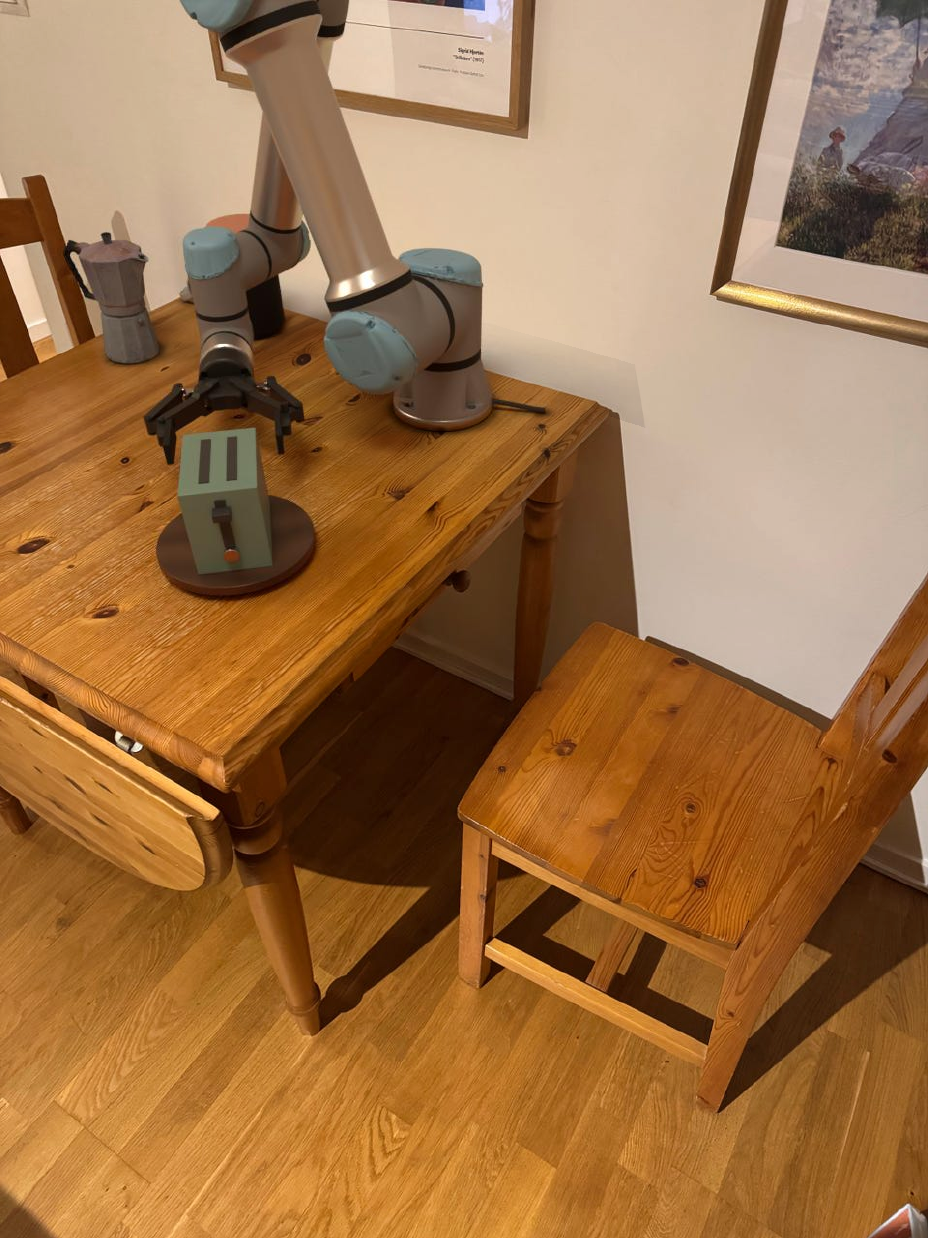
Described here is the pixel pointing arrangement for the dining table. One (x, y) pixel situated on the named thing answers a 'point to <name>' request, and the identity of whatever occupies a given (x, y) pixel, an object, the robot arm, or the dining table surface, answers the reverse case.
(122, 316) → the moka pot
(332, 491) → the dining table surface
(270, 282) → the coffee jar
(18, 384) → the dining table surface
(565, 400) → the dining table surface
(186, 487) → the toaster
